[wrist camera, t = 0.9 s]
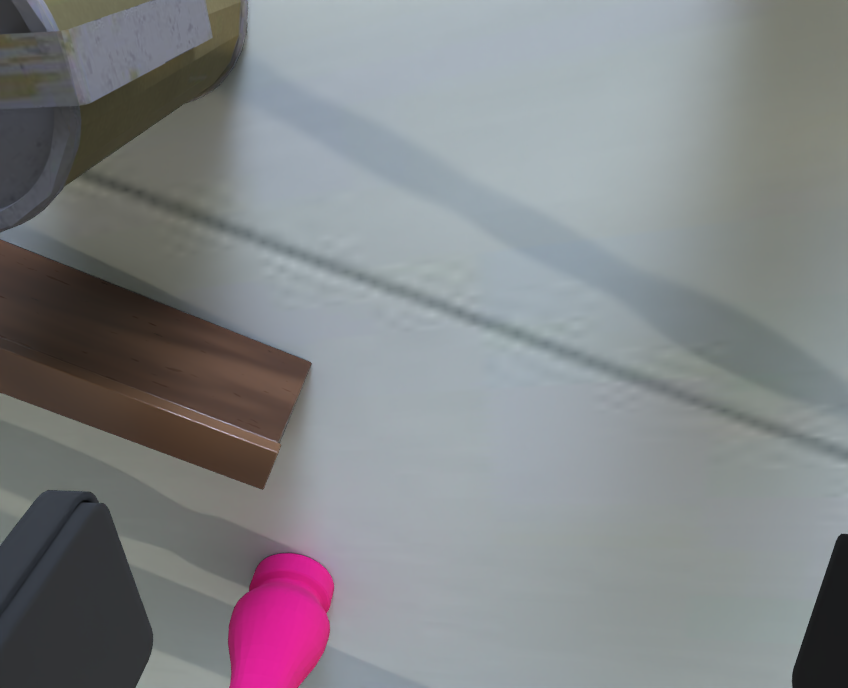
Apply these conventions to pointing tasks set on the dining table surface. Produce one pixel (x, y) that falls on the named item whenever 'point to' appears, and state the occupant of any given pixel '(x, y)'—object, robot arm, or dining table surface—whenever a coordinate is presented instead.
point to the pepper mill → (280, 623)
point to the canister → (98, 82)
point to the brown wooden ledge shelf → (142, 368)
